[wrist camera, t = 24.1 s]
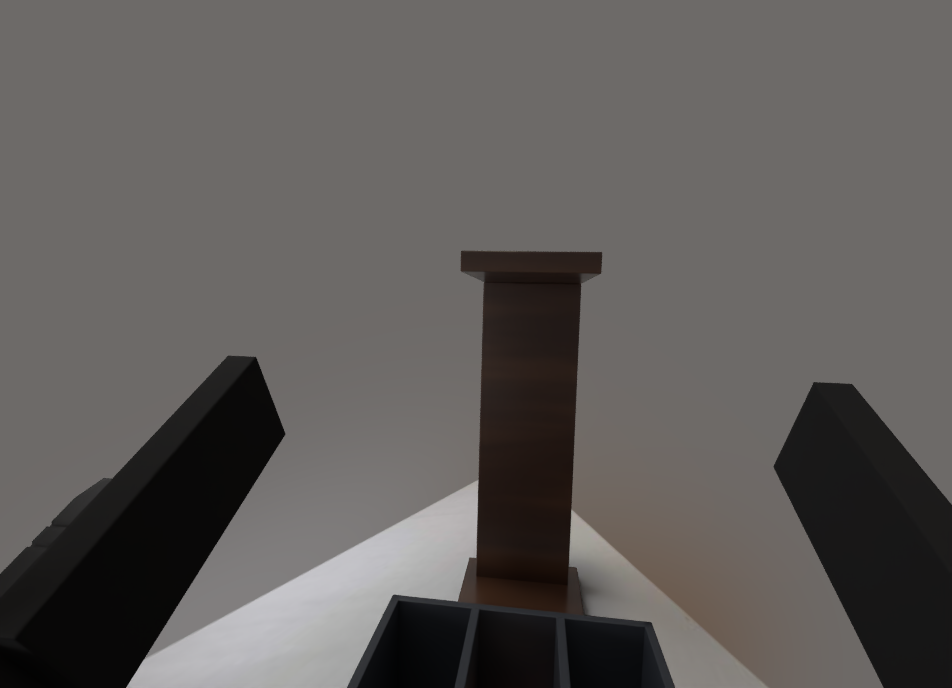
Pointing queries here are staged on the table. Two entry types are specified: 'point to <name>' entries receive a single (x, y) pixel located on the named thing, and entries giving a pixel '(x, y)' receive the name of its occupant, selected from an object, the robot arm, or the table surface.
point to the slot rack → (506, 649)
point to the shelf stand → (527, 428)
